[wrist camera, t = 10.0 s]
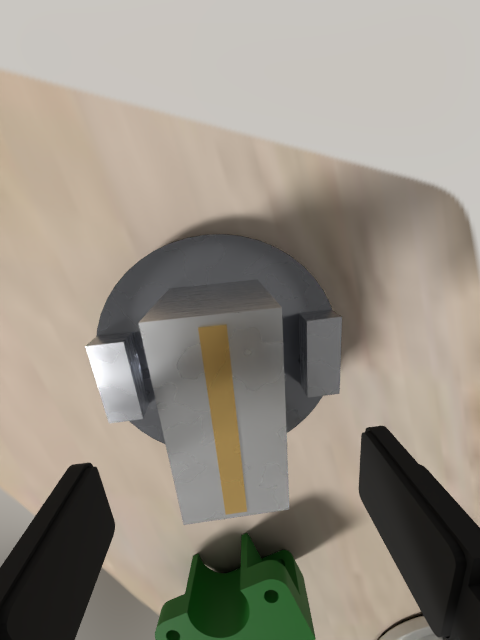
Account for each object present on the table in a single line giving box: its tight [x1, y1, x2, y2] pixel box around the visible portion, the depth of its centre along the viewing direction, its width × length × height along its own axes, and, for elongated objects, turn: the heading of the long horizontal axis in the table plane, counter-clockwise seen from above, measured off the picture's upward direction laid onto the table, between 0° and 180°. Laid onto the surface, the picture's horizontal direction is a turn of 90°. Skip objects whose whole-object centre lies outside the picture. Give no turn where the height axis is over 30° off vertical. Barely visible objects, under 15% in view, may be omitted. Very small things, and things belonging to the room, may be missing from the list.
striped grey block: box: [139, 280, 289, 525], centre depth 13 cm, size 5×10×6 cm, turn 5°
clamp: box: [155, 533, 315, 640], centre depth 22 cm, size 12×6×9 cm, turn 110°
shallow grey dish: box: [85, 234, 342, 444], centre depth 16 cm, size 15×15×3 cm
